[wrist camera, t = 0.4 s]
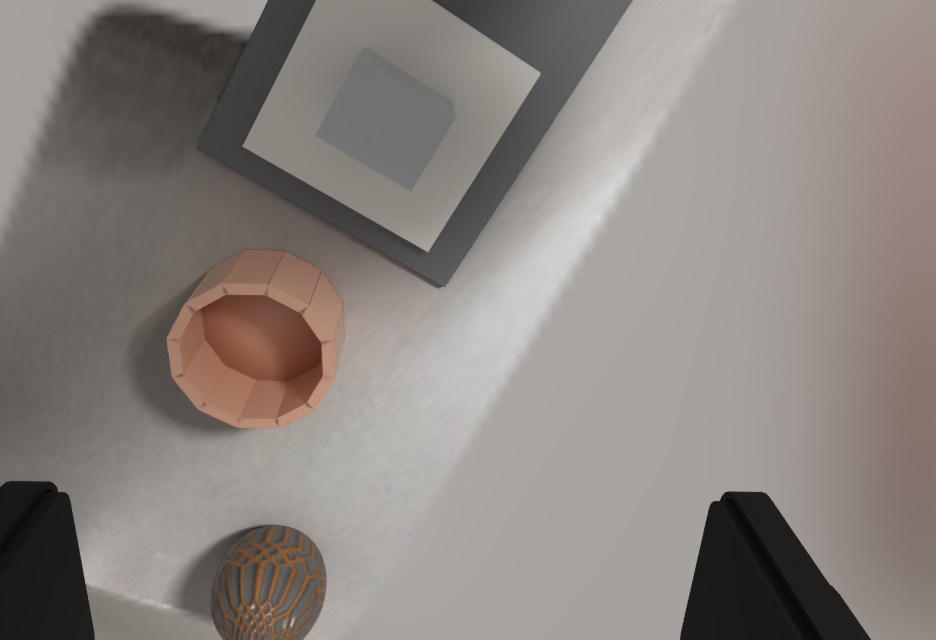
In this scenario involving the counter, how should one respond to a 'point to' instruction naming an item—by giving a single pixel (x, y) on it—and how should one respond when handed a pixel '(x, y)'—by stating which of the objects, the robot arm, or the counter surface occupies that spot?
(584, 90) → the counter surface
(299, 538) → the vase
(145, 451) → the counter surface
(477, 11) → the mat
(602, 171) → the counter surface
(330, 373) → the bowl
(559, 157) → the counter surface
